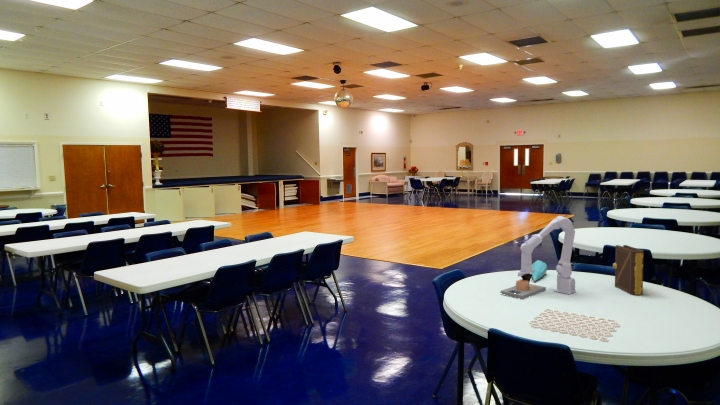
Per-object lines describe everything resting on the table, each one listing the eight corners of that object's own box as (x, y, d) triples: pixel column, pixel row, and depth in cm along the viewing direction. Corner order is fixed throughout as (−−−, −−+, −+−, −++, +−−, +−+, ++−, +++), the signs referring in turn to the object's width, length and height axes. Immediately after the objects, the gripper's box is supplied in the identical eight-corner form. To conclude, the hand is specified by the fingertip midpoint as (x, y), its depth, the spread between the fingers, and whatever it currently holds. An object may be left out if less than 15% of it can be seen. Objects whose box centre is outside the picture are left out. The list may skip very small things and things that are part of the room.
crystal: (530, 290, 293) (524, 276, 293) (537, 270, 323) (531, 257, 323) (546, 286, 288) (539, 271, 288) (551, 266, 318) (545, 253, 318)
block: (528, 289, 271) (528, 280, 271) (523, 291, 268) (523, 282, 268) (520, 287, 275) (520, 279, 275) (516, 289, 272) (516, 280, 272)
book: (646, 295, 260) (647, 251, 258) (630, 295, 260) (631, 251, 258) (624, 284, 282) (625, 244, 280) (610, 285, 282) (611, 244, 280)
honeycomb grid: (545, 310, 241) (545, 308, 241) (622, 323, 219) (622, 321, 219) (525, 326, 218) (525, 324, 218) (608, 343, 196) (608, 341, 196)
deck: (545, 290, 275) (545, 283, 274) (522, 299, 259) (522, 291, 259) (524, 286, 286) (524, 278, 285) (500, 294, 270) (500, 286, 270)
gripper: (527, 260, 281) (527, 282, 282) (513, 264, 272) (513, 287, 273) (537, 262, 275) (537, 284, 276) (524, 266, 266) (524, 289, 267)
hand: (526, 286), depth 274 cm, fingers closed
